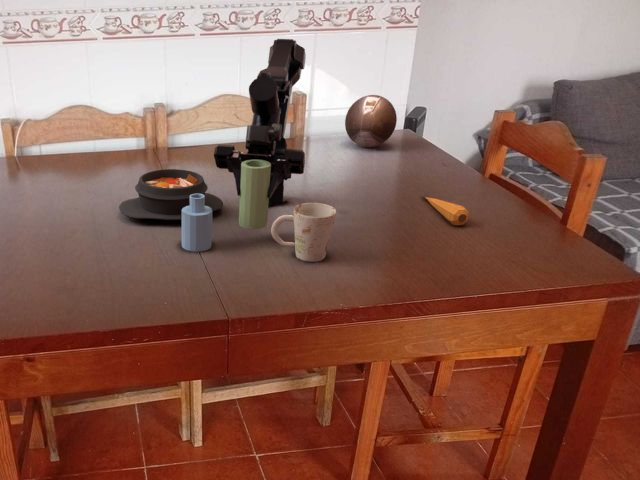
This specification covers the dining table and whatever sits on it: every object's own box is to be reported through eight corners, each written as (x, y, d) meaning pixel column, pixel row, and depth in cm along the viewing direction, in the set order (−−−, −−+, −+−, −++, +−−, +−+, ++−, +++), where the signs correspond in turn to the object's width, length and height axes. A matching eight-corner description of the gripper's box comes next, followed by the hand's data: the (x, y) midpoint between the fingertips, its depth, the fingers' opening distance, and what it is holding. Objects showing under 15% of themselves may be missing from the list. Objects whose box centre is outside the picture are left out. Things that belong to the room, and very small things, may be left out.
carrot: (465, 230, 157) (475, 212, 156) (448, 223, 156) (459, 205, 154) (427, 208, 175) (436, 191, 173) (412, 202, 174) (421, 185, 172)
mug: (330, 265, 140) (336, 218, 135) (267, 261, 142) (270, 214, 137) (331, 249, 147) (336, 204, 142) (271, 245, 149) (274, 200, 144)
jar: (240, 218, 152) (242, 158, 145) (267, 219, 151) (271, 160, 145) (237, 228, 147) (240, 167, 140) (266, 229, 146) (270, 168, 140)
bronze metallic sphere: (343, 152, 209) (349, 100, 201) (341, 139, 221) (347, 89, 214) (394, 154, 207) (403, 101, 199) (390, 140, 219) (397, 91, 211)
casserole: (208, 195, 176) (209, 162, 172) (234, 220, 161) (236, 185, 157) (111, 205, 170) (110, 171, 166) (129, 232, 155) (127, 196, 151)
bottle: (176, 243, 150) (176, 194, 144) (201, 238, 153) (202, 189, 147) (191, 253, 145) (191, 203, 140) (216, 247, 148) (218, 197, 142)
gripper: (216, 104, 142) (204, 174, 139) (308, 109, 138) (298, 181, 135) (223, 134, 153) (211, 199, 150) (308, 139, 149) (298, 206, 146)
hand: (253, 196), depth 145 cm, fingers closed on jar, 6 cm apart
